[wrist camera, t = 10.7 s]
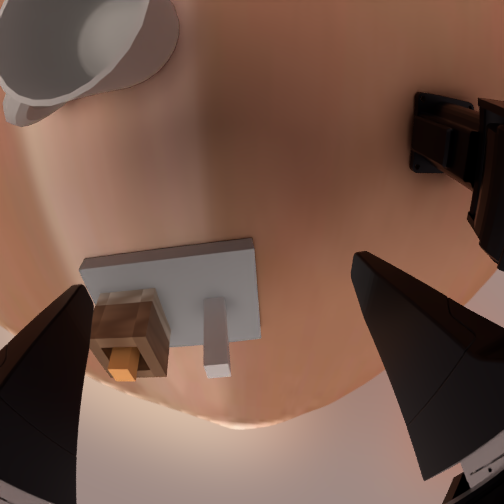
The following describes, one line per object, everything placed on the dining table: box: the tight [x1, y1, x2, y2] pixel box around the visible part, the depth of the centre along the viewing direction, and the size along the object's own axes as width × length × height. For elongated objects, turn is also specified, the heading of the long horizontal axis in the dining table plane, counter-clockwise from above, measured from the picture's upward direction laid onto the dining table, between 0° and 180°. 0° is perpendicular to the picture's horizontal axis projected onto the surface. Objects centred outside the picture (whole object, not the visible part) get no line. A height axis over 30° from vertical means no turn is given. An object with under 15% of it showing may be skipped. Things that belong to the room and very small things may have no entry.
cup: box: [0, 0, 179, 127], centre depth 10 cm, size 7×10×9 cm
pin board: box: [79, 238, 261, 381], centre depth 22 cm, size 14×10×8 cm
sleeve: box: [89, 288, 171, 378], centre depth 21 cm, size 5×5×5 cm
